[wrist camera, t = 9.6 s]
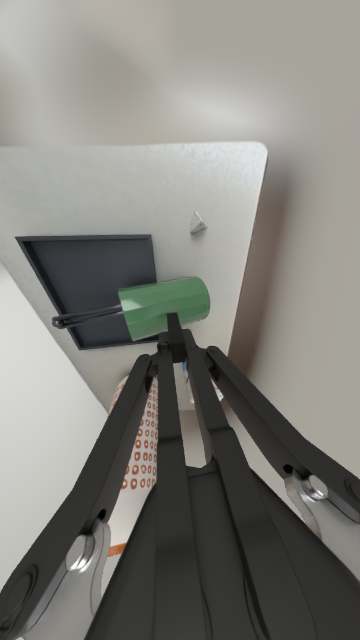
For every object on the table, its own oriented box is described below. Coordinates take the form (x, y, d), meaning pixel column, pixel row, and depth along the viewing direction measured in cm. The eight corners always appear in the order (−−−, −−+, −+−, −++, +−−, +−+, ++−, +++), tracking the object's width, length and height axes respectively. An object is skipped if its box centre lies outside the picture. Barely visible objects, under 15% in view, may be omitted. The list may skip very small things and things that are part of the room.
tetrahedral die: (201, 237, 25) (210, 238, 23) (189, 233, 24) (198, 233, 22) (206, 215, 24) (217, 214, 22) (194, 209, 22) (204, 208, 20)
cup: (191, 267, 25) (114, 278, 21) (216, 296, 21) (124, 319, 16) (185, 300, 32) (126, 314, 27) (202, 327, 27) (136, 349, 23)
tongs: (150, 283, 34) (47, 317, 21) (182, 290, 27) (62, 346, 14) (151, 292, 35) (55, 329, 22) (183, 300, 28) (73, 360, 15)
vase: (146, 359, 38) (126, 551, 14) (167, 381, 45) (177, 537, 21) (109, 376, 40) (35, 577, 16) (135, 395, 47) (110, 556, 23)
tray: (25, 237, 21) (14, 236, 19) (150, 235, 23) (150, 234, 22) (83, 345, 33) (79, 350, 31) (162, 336, 35) (162, 341, 33)
